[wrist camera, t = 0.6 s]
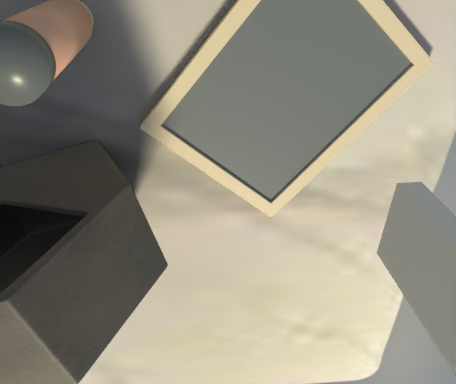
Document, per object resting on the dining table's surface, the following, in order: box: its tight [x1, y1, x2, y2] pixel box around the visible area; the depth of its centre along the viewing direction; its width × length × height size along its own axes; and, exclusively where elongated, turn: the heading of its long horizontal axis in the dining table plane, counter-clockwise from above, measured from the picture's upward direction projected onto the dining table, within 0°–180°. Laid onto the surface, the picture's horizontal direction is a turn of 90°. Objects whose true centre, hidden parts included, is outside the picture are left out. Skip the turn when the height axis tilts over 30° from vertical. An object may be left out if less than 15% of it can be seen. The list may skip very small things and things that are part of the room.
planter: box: [0, 140, 167, 384], centre depth 28 cm, size 17×8×21 cm
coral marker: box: [0, 0, 94, 106], centre depth 23 cm, size 4×4×13 cm
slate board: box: [140, 0, 434, 218], centre depth 32 cm, size 15×19×1 cm
